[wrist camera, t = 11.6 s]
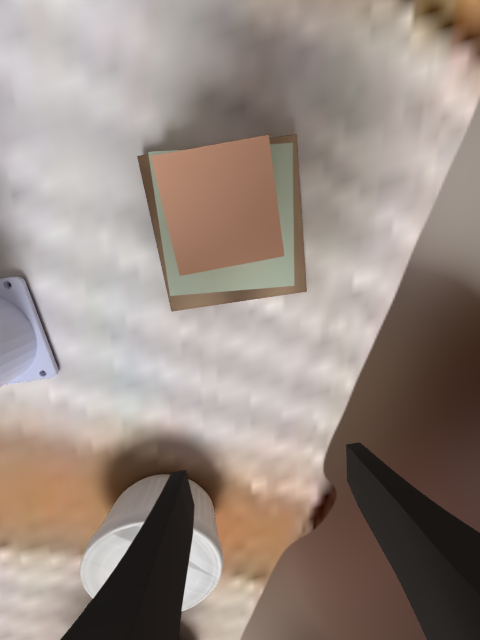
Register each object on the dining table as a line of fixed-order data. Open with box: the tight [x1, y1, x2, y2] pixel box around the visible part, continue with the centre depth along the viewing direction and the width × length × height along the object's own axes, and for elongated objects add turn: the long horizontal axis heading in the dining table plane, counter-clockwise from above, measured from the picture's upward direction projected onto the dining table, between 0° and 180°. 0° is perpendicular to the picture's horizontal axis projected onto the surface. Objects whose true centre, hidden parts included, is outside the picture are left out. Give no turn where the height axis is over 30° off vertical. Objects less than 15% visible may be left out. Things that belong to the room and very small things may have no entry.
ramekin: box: [80, 474, 223, 612], centre depth 22 cm, size 11×11×5 cm
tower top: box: [148, 143, 294, 296], centre depth 16 cm, size 8×8×2 cm
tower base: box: [137, 134, 307, 311], centre depth 18 cm, size 10×10×2 cm
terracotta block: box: [151, 135, 284, 276], centre depth 12 cm, size 4×4×5 cm
